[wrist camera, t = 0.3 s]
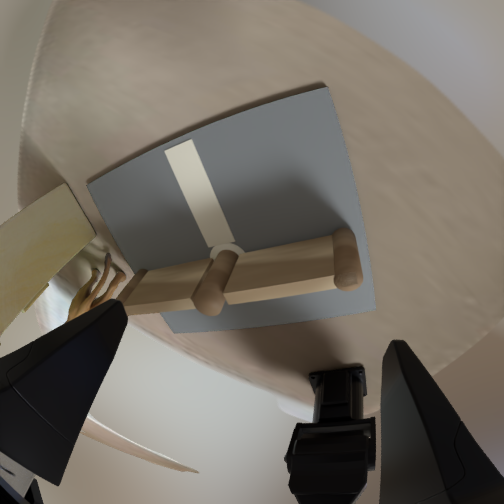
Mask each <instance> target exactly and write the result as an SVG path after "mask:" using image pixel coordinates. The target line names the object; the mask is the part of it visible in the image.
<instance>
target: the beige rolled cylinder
mask: <svg viewBox="0 0 504 504" xmlns="http://www.w3.org/2000/svg"><path fill="white" fill-rule="evenodd" d="M362 282H363V272H362V267H361V262H360V256H359V251H358V246H357V242H356V237H355V234H354V232H353V231H352V230H350V229H348V228H339V229H337V230H336V231H334V233H333V234H332V235H329V236H324V237H320V238H315V239H310V240H305V241H300V242H295V243H291V244H286V245H281V246H276V247H271V248H266V249H262V250H257V251H252V252H247V253H242V254H240V255H239V257H238V260H237V262H236V264H235V267H234V269H233V271H232V273H231V276H230V278H229V280H228V283H227V285H226V287H225V290H224V292H223V295H224V297H225V299H226V301H227V303H228V304H229V305H231V304H239V303H246V302H254V301H261V300H268V299H274V298H281V297H288V296H294V295H300V294H307V293H313V292H319V291H325V290H330V289H336V288H338V289H340V290H342V291H353V290H355V289H357V288H359V287H360V286H361V284H362Z"/></svg>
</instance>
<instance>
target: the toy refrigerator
mask: <svg viewBox="0 0 504 504" xmlns="http://www.w3.org/2000/svg"><path fill="white" fill-rule="evenodd" d="M95 236H96V234H95V232H94V230H93V228H92V226H91V224H90V223H89V221H88V219H87V218H86V216H85V215H84V213H83V211H82V209H81V208H80V206H79V204H78V203H77V201H76V199H75V197H74V196H73V194H72V192H71V191H70V189H69V187H68V186H67V184H66V183H63V184H61V185H60V186H58V187H56V188H55V189H53V190H51V191H50V192H48V193H47V194H45V195H44V196H42V197H40V198H39V199H37V200H36V201H34V202H33V203H31V204H30V205H28V206H27V207H25V208H24V209H23V210H21V211H20V212H18V213H17V214H15V215H14V216H13V217H11V218H10V219H8V220H7V221H6V222H4V223H3V224H2V225H1V226H0V336H1V335H2V334H3V333H4V331H5V330H6V329H7V328H8V326H9V325H10V324H11V323H12V322H13V320H14V319H15V318H16V317H17V316H18V315H19V313H20V312H21V311H22V312H23V313H25V312H26V311H27V310H28V309H29V307H30V306H31V305H32V304H33V303H34V302H35V300H36V299H37V298H38V297H39V296H40V295H41V294H42V293H43V292H44V290H45V289H46V288H47V287H48V286H49V284H48V282H49V281H50V280H51V279H52V277H53V276H54V275H55V274H56V273H57V272H58V271H59V270H60V269H61V268H63V267H64V266H65V265H66V264H67V263H68V262H69V261H70V260H71V259H72V258H73V257H74V256H75V255H76V254H77V253H78V252H79V251H80V250H81V249H82V248H84V247H85V246H86V245H87V244H88V243H89V242H90V241H91V240H92V239H93V238H95ZM0 345H1V343H0Z"/></svg>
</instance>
